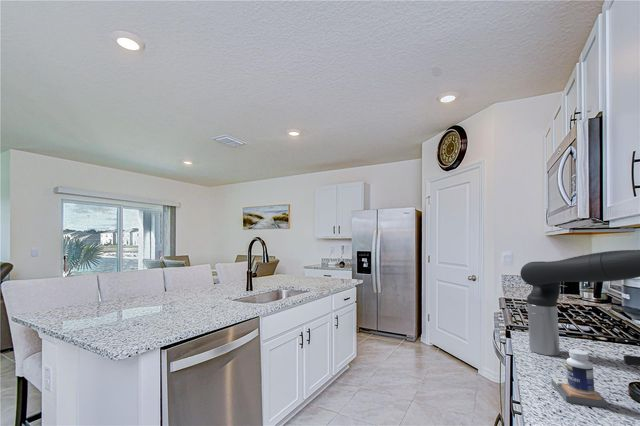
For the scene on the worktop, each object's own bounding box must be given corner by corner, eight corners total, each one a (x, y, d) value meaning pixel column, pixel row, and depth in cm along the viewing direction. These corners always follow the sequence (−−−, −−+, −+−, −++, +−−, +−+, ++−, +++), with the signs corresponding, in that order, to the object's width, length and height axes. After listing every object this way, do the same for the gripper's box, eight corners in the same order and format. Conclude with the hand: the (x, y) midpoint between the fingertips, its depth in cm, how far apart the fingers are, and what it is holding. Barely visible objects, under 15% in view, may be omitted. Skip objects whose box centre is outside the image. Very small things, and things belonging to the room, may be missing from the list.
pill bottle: (563, 387, 85) (560, 349, 85) (576, 384, 86) (573, 347, 87) (586, 396, 80) (583, 356, 80) (599, 393, 81) (596, 353, 82)
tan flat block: (551, 384, 91) (551, 376, 92) (587, 389, 88) (587, 380, 89) (566, 402, 81) (565, 393, 81) (608, 408, 78) (607, 398, 78)
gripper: (697, 348, 81) (617, 341, 87) (748, 369, 68) (650, 359, 73) (700, 379, 80) (619, 370, 86) (753, 406, 67) (653, 393, 73)
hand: (633, 365), depth 80 cm, fingers open, 8 cm apart
